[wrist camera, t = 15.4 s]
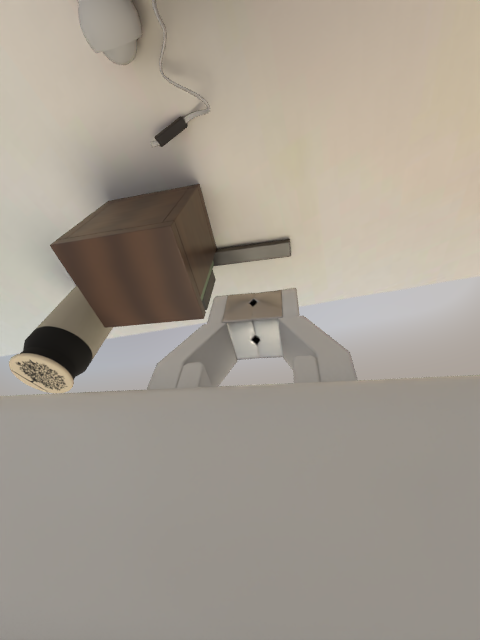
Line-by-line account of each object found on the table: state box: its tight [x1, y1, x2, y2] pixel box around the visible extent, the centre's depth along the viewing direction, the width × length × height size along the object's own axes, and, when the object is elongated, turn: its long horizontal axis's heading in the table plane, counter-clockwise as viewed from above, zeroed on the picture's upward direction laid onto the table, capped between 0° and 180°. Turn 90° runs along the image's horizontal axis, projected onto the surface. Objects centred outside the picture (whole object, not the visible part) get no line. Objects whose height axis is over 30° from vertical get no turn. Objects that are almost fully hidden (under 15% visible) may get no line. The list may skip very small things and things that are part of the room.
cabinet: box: [50, 184, 291, 328], centre depth 34 cm, size 24×11×13 cm, turn 101°
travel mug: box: [9, 286, 113, 393], centre depth 41 cm, size 8×8×18 cm
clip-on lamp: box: [77, 0, 210, 147], centre depth 25 cm, size 12×6×18 cm
